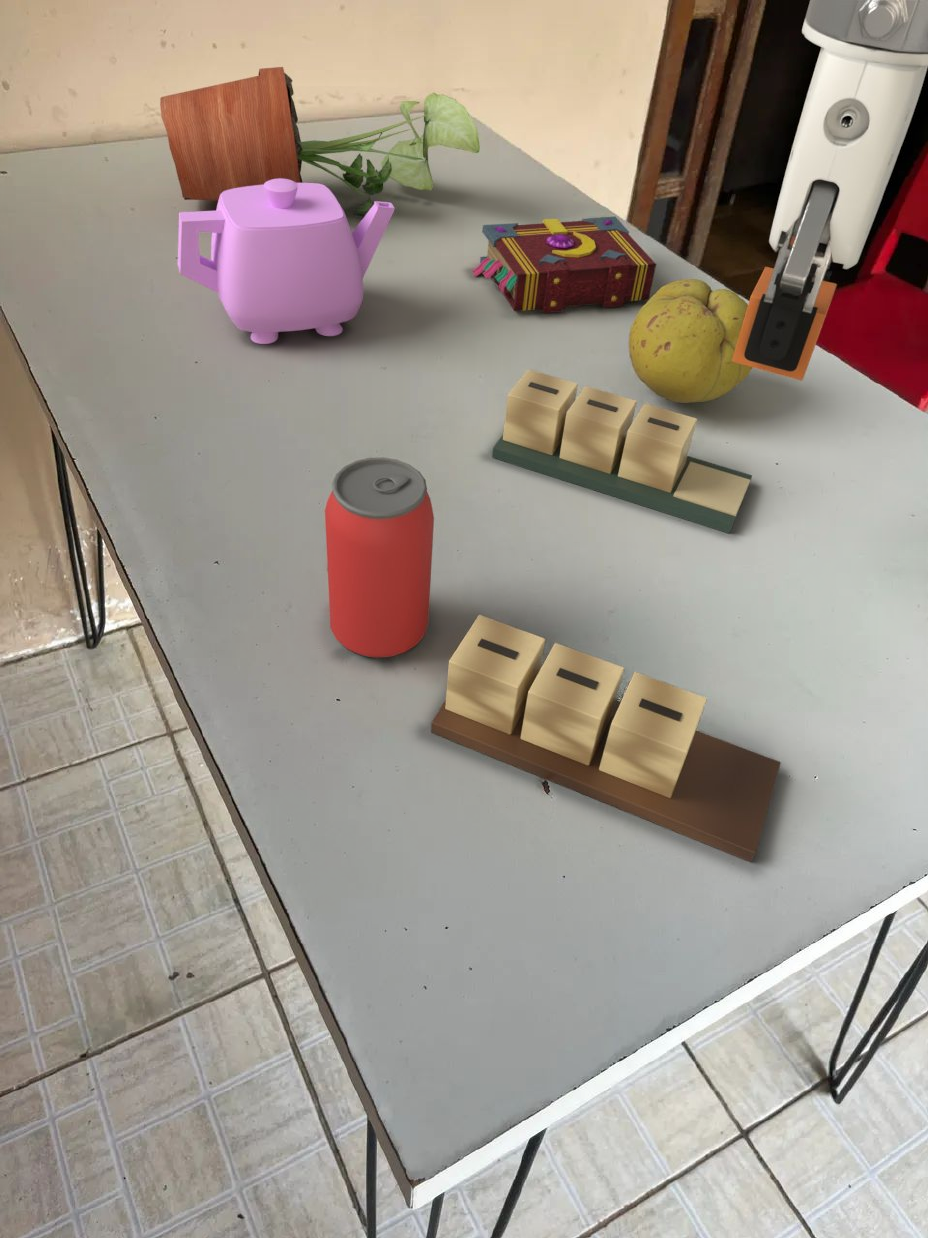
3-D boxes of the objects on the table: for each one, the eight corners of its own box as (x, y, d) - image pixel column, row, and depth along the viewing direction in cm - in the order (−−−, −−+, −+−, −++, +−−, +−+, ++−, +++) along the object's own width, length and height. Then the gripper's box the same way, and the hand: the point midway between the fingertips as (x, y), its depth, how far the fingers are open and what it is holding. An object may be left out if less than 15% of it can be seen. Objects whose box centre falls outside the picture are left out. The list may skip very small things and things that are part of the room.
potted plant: (187, 251, 106) (502, 220, 110) (152, 98, 96) (501, 69, 100) (190, 200, 117) (475, 173, 121) (159, 58, 107) (472, 33, 111)
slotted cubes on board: (776, 771, 59) (804, 714, 55) (751, 862, 55) (779, 807, 51) (476, 657, 64) (483, 598, 60) (430, 732, 60) (434, 672, 56)
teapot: (198, 362, 87) (178, 222, 78) (177, 297, 96) (156, 163, 87) (411, 336, 93) (414, 202, 84) (374, 277, 101) (374, 149, 92)
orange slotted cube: (814, 348, 62) (837, 281, 59) (802, 381, 59) (826, 312, 56) (746, 330, 63) (766, 264, 60) (731, 362, 60) (751, 293, 57)
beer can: (446, 639, 65) (457, 497, 57) (361, 677, 63) (358, 534, 54) (395, 581, 69) (397, 439, 61) (312, 614, 66) (302, 471, 58)
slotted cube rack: (749, 484, 80) (768, 428, 76) (729, 533, 75) (748, 476, 71) (523, 415, 85) (530, 359, 81) (491, 457, 80) (497, 399, 76)
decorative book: (650, 305, 101) (660, 258, 97) (502, 318, 97) (507, 270, 93) (608, 255, 108) (615, 210, 105) (469, 266, 104) (472, 219, 101)
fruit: (596, 366, 91) (615, 263, 84) (711, 357, 94) (738, 256, 87) (640, 434, 84) (665, 327, 77) (763, 422, 87) (798, 318, 80)
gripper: (954, 69, 41) (815, 430, 54) (977, -13, 53) (856, 303, 66) (779, 36, 43) (685, 393, 56) (837, -37, 54) (747, 275, 67)
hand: (778, 341), depth 61 cm, fingers closed on orange slotted cube, 4 cm apart
